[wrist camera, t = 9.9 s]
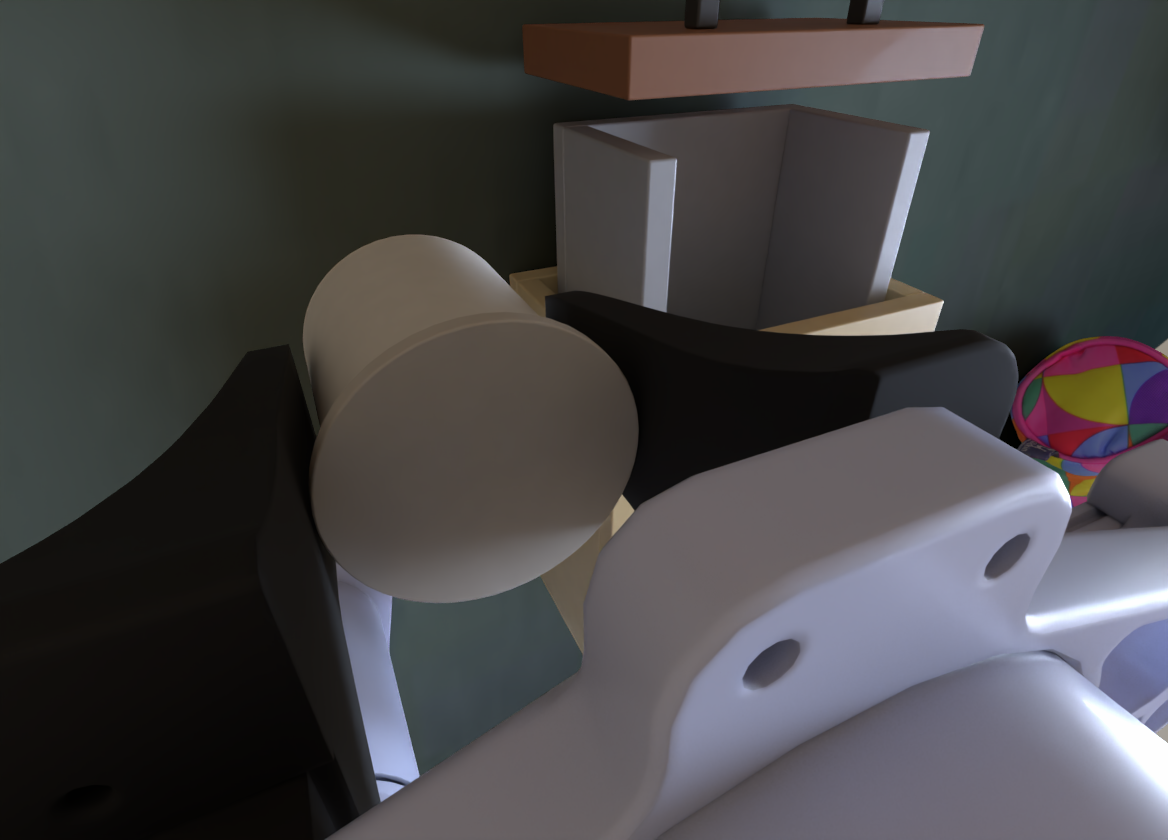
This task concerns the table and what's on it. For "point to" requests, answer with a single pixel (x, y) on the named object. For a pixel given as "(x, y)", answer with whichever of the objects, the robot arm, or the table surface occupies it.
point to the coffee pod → (455, 425)
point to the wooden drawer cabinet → (890, 317)
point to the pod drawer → (738, 161)
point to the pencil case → (1091, 407)
